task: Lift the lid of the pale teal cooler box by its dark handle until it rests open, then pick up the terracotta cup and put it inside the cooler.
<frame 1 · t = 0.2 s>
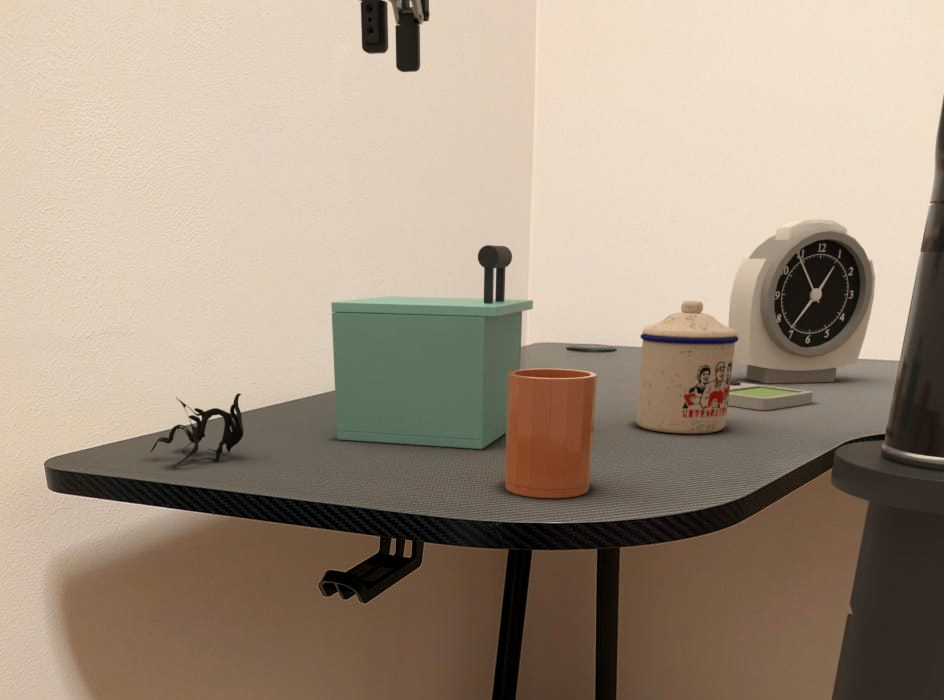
hand: (392, 62, 83), 32 cm above the table, tool pointing down, fingers open, 8 cm apart
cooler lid: (437, 278, 81), point 14 cm above the table, hinge at -0.1°
creature: (199, 460, 74), on the table
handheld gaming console: (733, 400, 108), on the table
cooler: (432, 431, 86), on the table
cup: (546, 488, 65), on the table
teacup with lid: (688, 427, 91), on the table
alarm clock: (789, 381, 126), on the table
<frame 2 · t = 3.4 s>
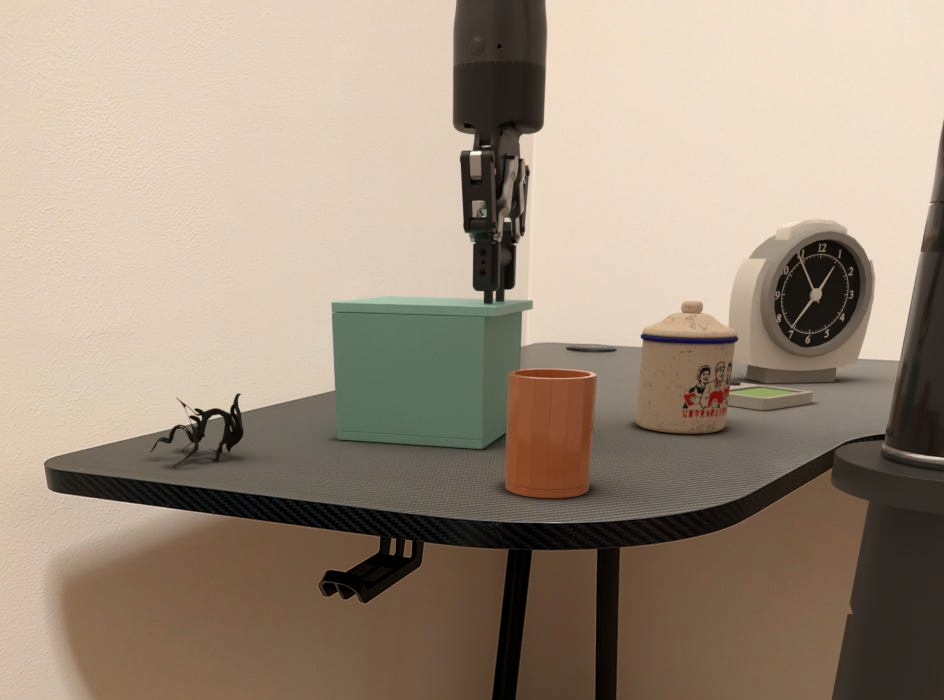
hand: (494, 289, 80), 13 cm above the table, tool pointing down, fingers closed on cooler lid, 5 cm apart
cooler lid: (437, 278, 81), point 14 cm above the table, hinge at -0.1°, touching gripper
everything else where it was.
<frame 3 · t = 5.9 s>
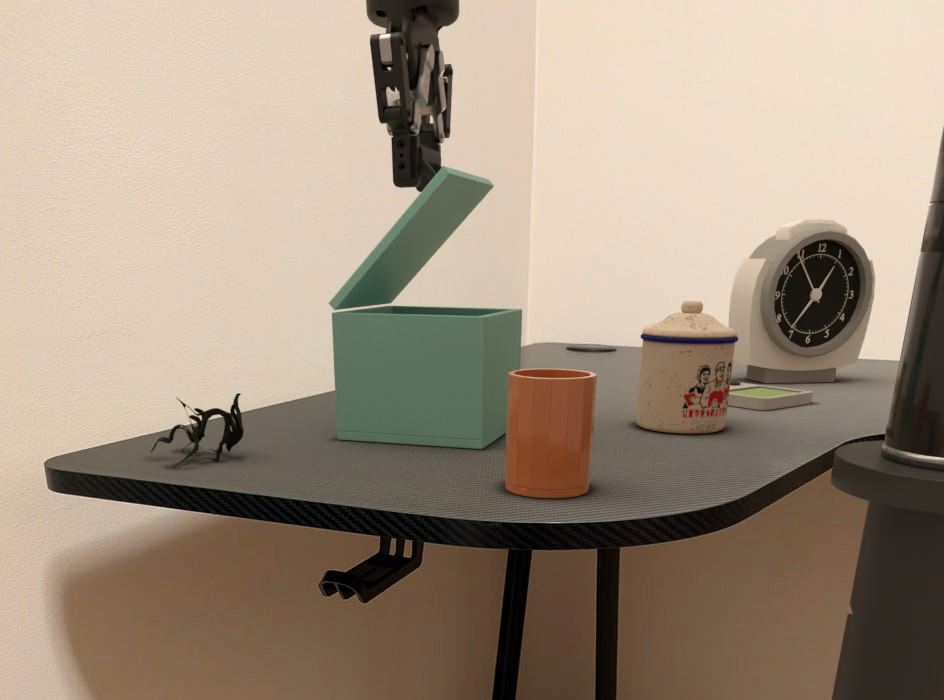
hand: (418, 188, 78), 21 cm above the table, tool pointing down, fingers closed on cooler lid, 5 cm apart
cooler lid: (396, 222, 80), point 18 cm above the table, hinge at 45.1°, touching gripper
everything else where it was.
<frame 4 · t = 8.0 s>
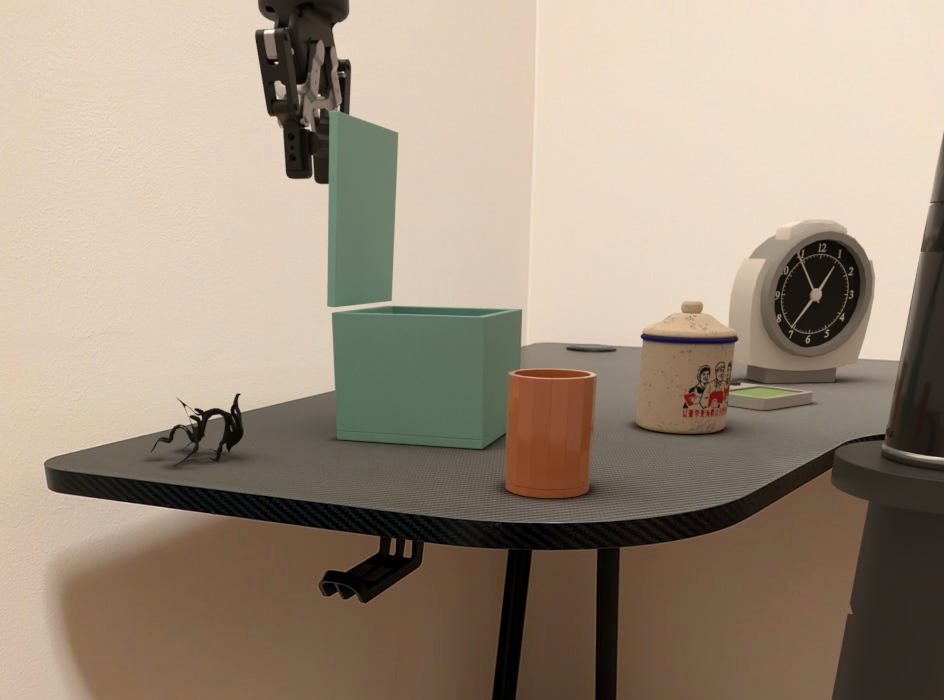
hand: (313, 180, 81), 21 cm above the table, tool pointing down, fingers closed on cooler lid, 5 cm apart
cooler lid: (340, 214, 81), point 19 cm above the table, hinge at 86.2°, touching gripper
everything else where it was.
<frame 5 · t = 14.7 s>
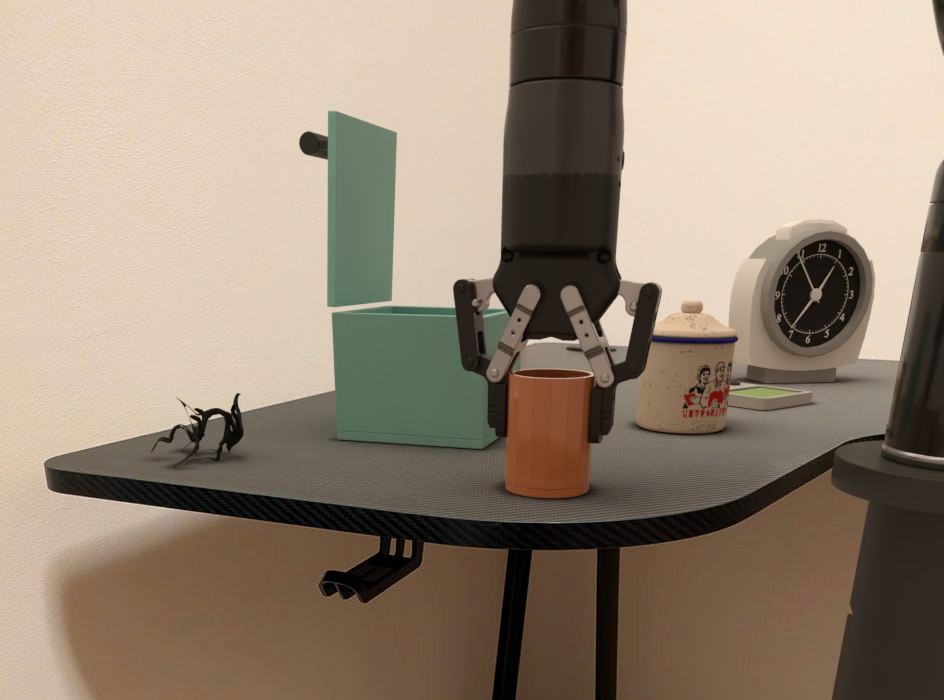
hand: (549, 437, 64), 4 cm above the table, tool pointing down, fingers closed on cup, 6 cm apart
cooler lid: (339, 214, 81), point 19 cm above the table, hinge at 86.7°
cup: (546, 488, 65), on the table, touching gripper
everything else where it was.
when the fingers open (8 cm above the table, at t = 26.9 s): cup drops 4 cm, resting on cooler.
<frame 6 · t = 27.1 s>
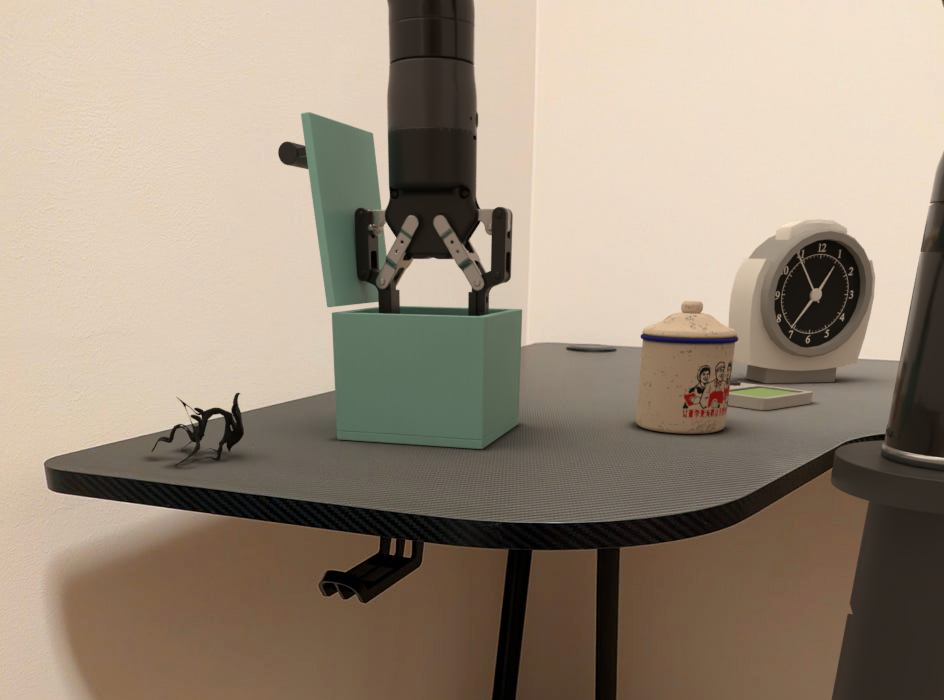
hand: (433, 334, 83), 9 cm above the table, tool pointing down, fingers open, 7 cm apart
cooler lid: (327, 219, 81), point 18 cm above the table, hinge at 96.1°, touching gripper, hand
cup: (433, 422, 86), point 1 cm above the table, touching cooler
everything else where it was.
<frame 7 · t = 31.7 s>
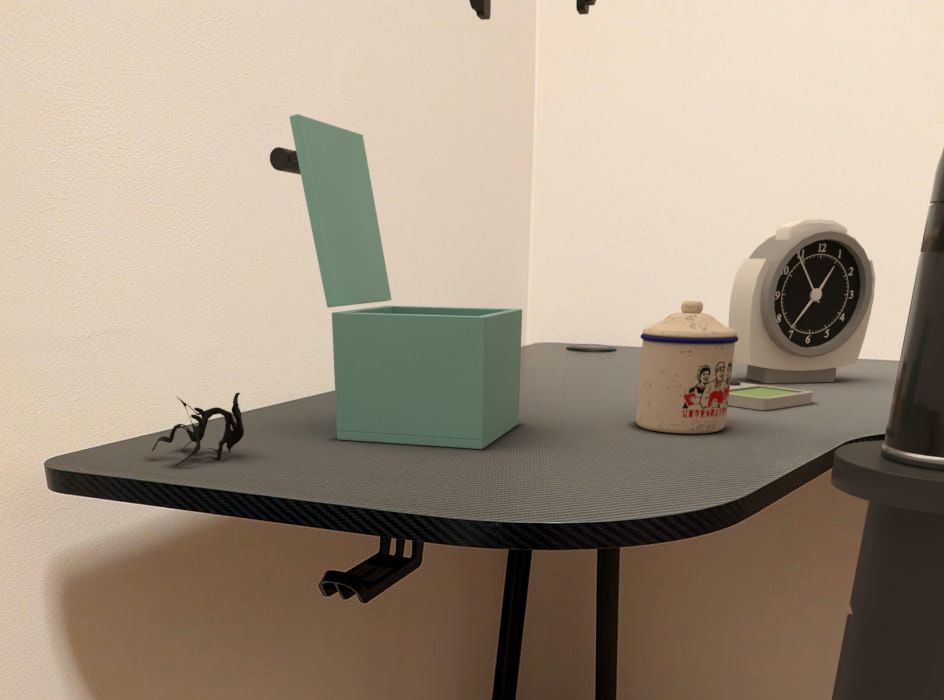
hand: (532, 15, 76), 34 cm above the table, tool pointing down, fingers open, 8 cm apart
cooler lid: (322, 222, 82), point 18 cm above the table, hinge at 100.1°
everything else where it was.
at the end: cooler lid at +100° (first picture: +0°); cup inside the target area in the cooler (0.1 cm from its centre), point 0.8 cm above the cooler's base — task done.
